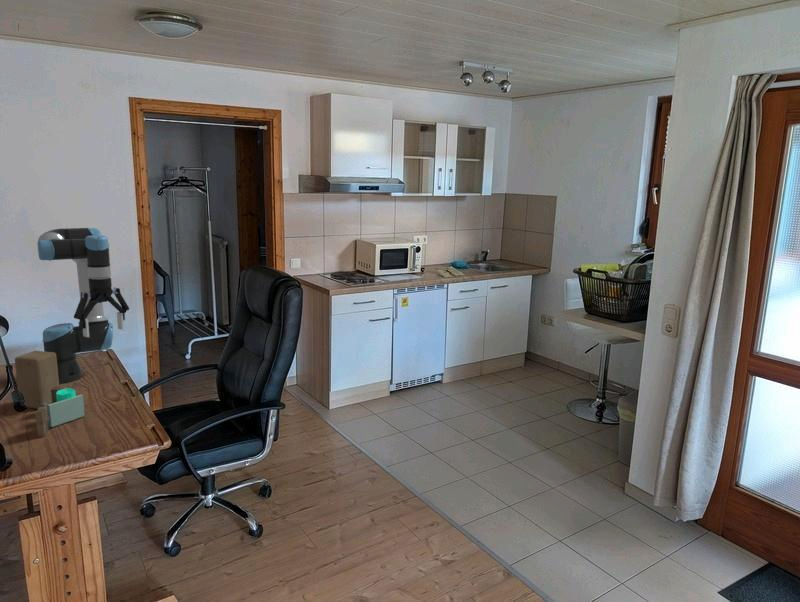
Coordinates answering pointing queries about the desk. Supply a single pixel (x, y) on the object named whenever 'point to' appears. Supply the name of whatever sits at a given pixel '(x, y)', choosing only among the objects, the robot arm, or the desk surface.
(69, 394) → the candle
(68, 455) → the desk surface
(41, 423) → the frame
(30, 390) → the wooden block
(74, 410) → the sage green plank
